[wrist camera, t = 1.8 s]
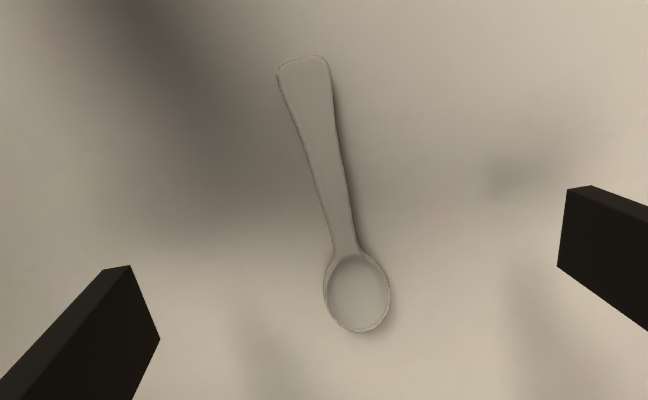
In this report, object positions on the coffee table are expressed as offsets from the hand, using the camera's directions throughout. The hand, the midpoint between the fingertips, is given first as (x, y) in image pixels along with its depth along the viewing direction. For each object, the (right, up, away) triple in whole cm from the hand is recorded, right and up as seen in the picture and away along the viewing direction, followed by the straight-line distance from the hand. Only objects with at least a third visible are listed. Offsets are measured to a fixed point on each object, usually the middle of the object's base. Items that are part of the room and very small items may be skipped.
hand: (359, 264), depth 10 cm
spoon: (-1, +2, +4) cm, 5 cm away
